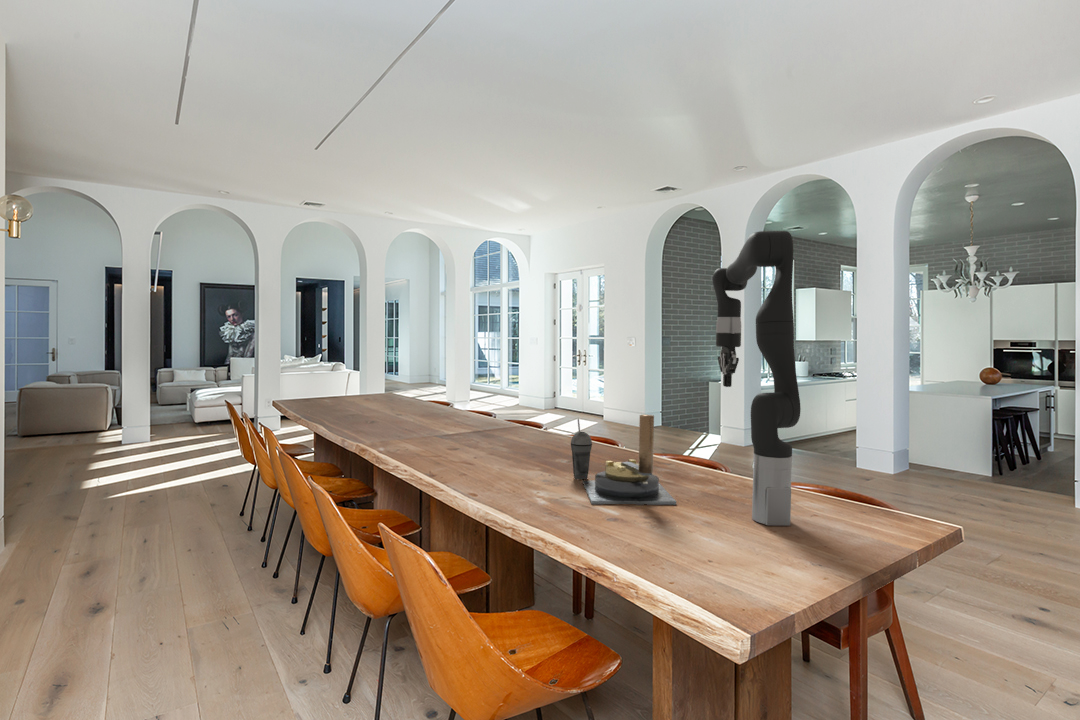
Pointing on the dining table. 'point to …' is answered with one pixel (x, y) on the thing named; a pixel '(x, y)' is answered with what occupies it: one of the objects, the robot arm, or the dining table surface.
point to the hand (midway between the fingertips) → (727, 386)
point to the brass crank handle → (645, 466)
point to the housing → (627, 491)
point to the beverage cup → (581, 454)
